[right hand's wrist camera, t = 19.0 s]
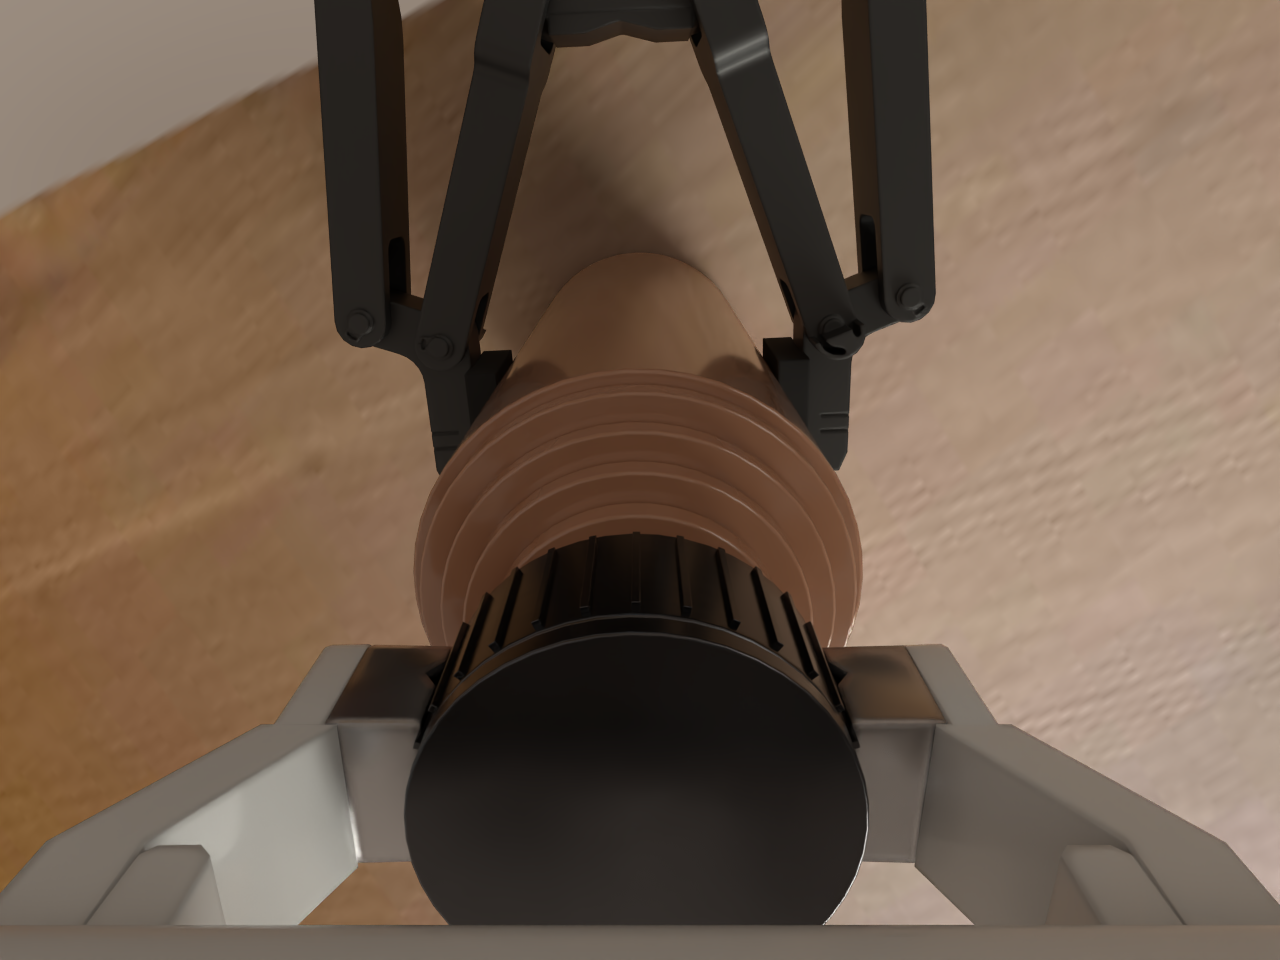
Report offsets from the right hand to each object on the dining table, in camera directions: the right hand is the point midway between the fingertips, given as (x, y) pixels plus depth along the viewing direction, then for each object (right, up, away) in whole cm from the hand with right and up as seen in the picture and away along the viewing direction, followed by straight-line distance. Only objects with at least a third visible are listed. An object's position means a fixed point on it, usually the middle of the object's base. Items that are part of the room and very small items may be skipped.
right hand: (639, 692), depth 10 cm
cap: (0, -1, -2) cm, 2 cm away
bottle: (0, +7, +18) cm, 19 cm away
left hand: (0, 0, +13) cm, 13 cm away
